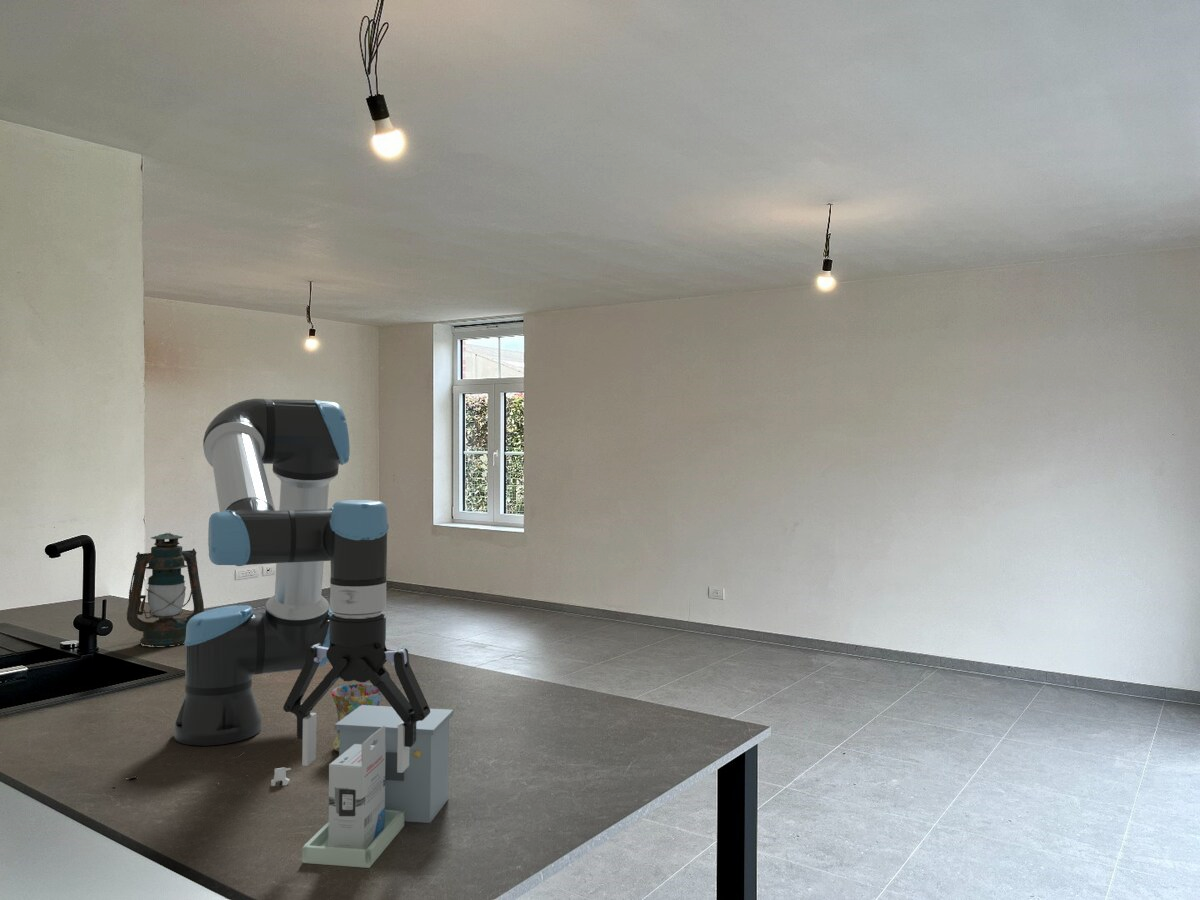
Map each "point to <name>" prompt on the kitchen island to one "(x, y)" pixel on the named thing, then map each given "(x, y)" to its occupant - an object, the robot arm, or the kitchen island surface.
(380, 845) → the tray
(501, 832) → the kitchen island surface
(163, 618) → the lantern
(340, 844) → the ink box
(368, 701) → the mug
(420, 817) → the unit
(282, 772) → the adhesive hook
